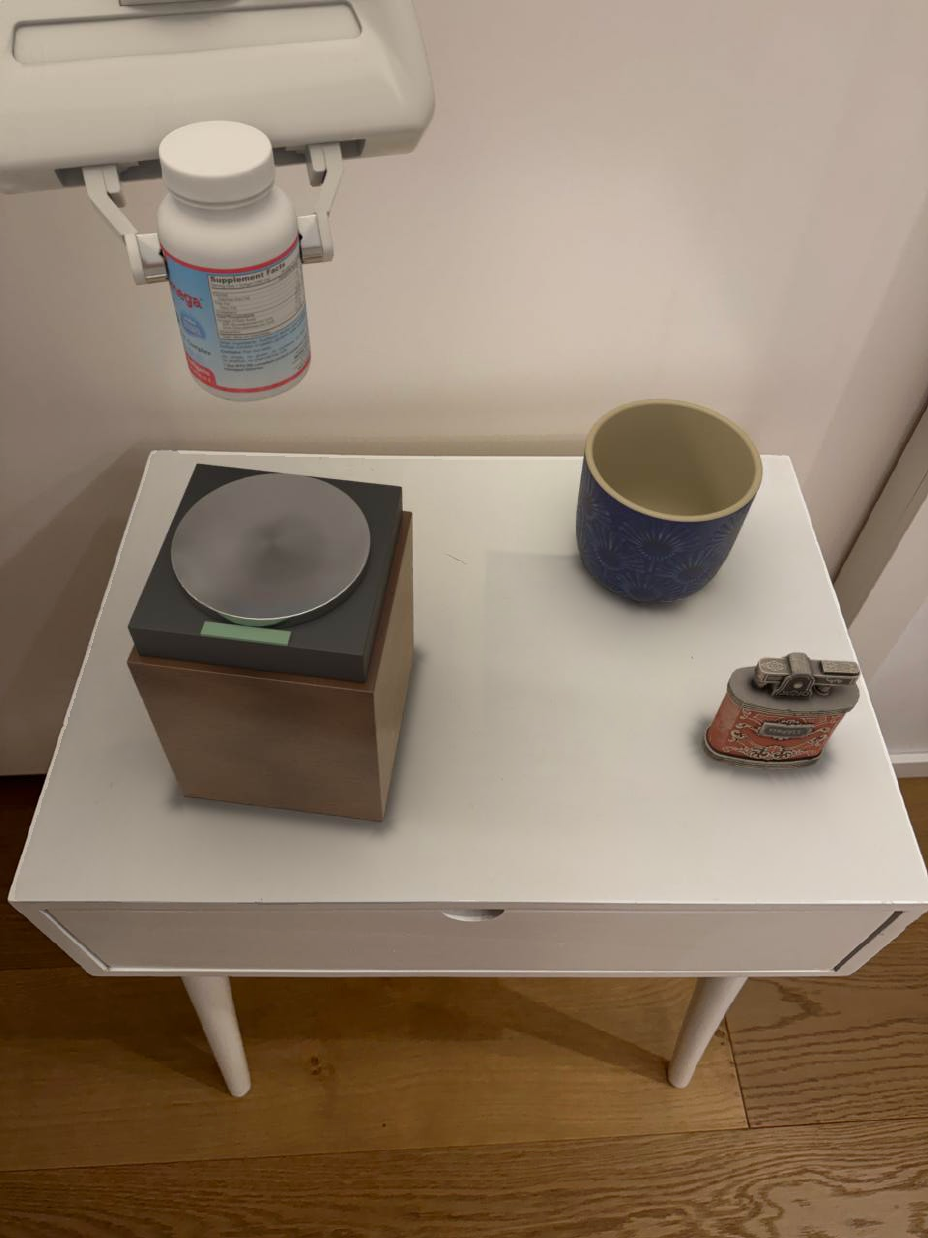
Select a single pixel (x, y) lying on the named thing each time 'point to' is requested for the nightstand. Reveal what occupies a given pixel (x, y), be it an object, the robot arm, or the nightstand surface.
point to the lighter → (781, 712)
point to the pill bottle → (233, 261)
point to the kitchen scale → (272, 573)
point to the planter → (663, 497)
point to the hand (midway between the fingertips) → (237, 270)
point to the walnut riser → (289, 720)
